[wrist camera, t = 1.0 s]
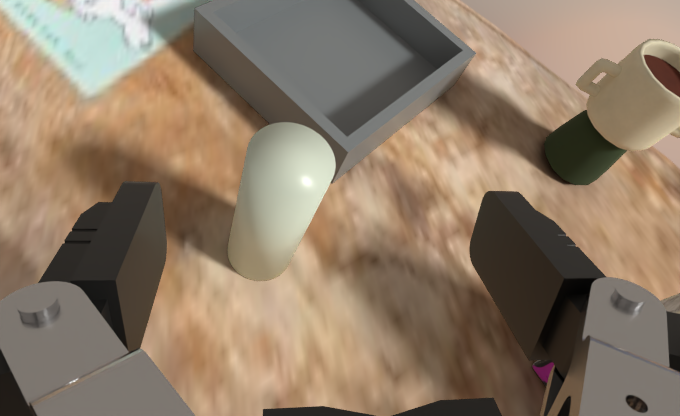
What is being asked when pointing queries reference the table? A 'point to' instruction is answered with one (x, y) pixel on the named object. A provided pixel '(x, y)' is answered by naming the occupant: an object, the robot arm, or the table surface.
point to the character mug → (619, 112)
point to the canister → (277, 197)
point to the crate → (332, 64)
